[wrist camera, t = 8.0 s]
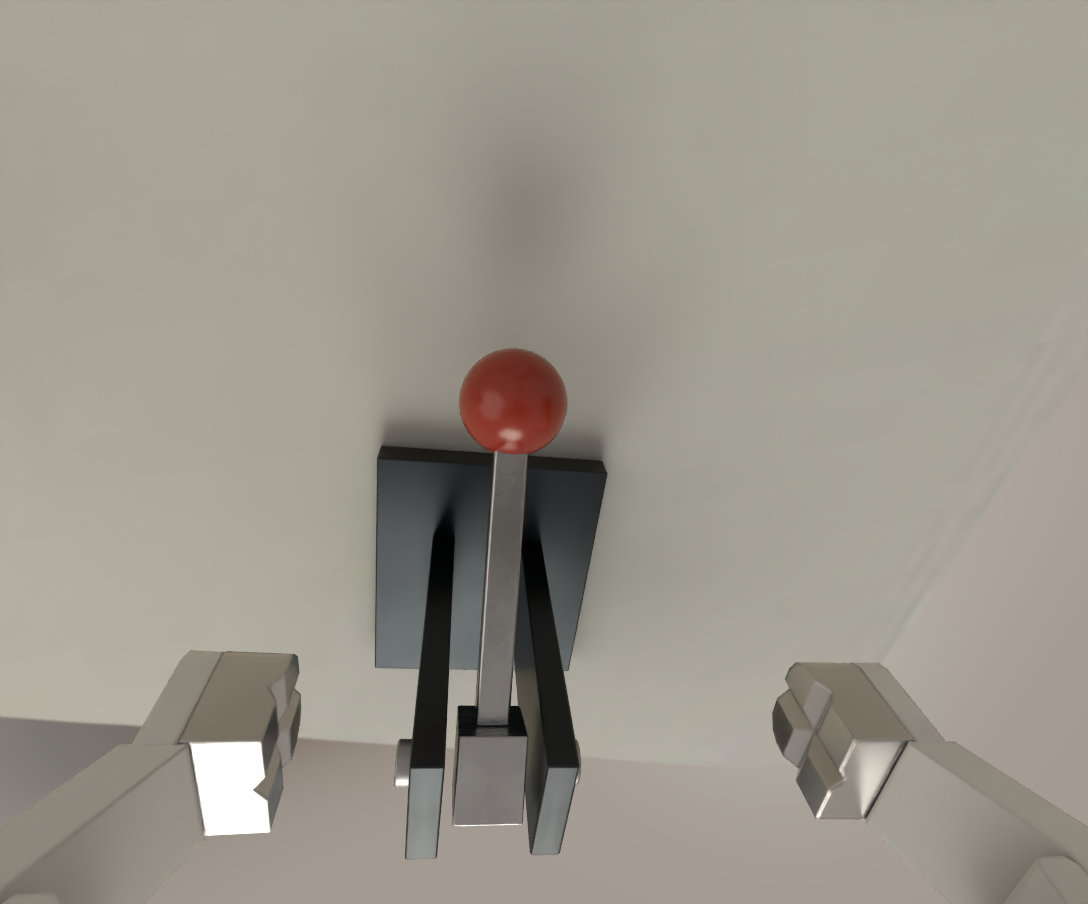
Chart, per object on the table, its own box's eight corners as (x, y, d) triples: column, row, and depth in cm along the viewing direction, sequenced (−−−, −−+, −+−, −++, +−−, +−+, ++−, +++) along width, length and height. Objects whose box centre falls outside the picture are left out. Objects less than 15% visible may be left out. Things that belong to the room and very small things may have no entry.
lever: (462, 352, 22) (464, 334, 18) (560, 361, 23) (581, 345, 19) (432, 776, 22) (428, 839, 18) (531, 775, 22) (547, 836, 19)
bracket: (380, 445, 27) (312, 667, 15) (602, 460, 28) (690, 673, 17) (378, 651, 32) (325, 930, 21) (565, 654, 33) (613, 917, 22)
